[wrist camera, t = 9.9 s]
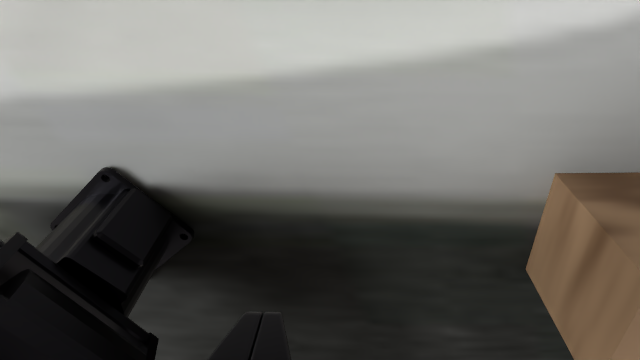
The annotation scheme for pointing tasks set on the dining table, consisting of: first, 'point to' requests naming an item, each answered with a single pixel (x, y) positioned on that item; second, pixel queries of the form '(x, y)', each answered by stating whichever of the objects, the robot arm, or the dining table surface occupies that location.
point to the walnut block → (591, 263)
